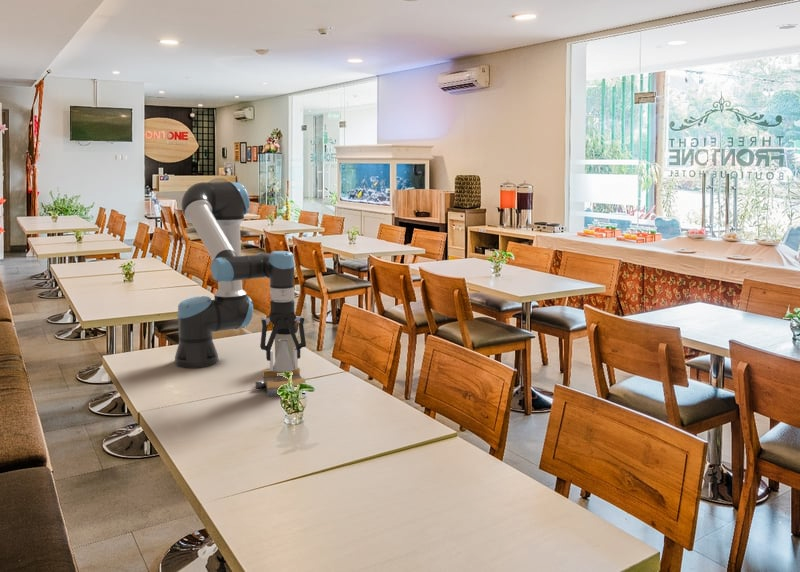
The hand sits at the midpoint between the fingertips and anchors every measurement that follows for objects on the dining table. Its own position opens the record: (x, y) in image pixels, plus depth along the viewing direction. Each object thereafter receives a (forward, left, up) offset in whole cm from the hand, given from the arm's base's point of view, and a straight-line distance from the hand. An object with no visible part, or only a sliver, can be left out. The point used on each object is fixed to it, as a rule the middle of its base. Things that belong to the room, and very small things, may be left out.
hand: (283, 368), depth 224 cm
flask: (0, 0, -1) cm, 1 cm away
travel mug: (-22, +4, -7) cm, 23 cm away
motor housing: (0, -2, -7) cm, 7 cm away
